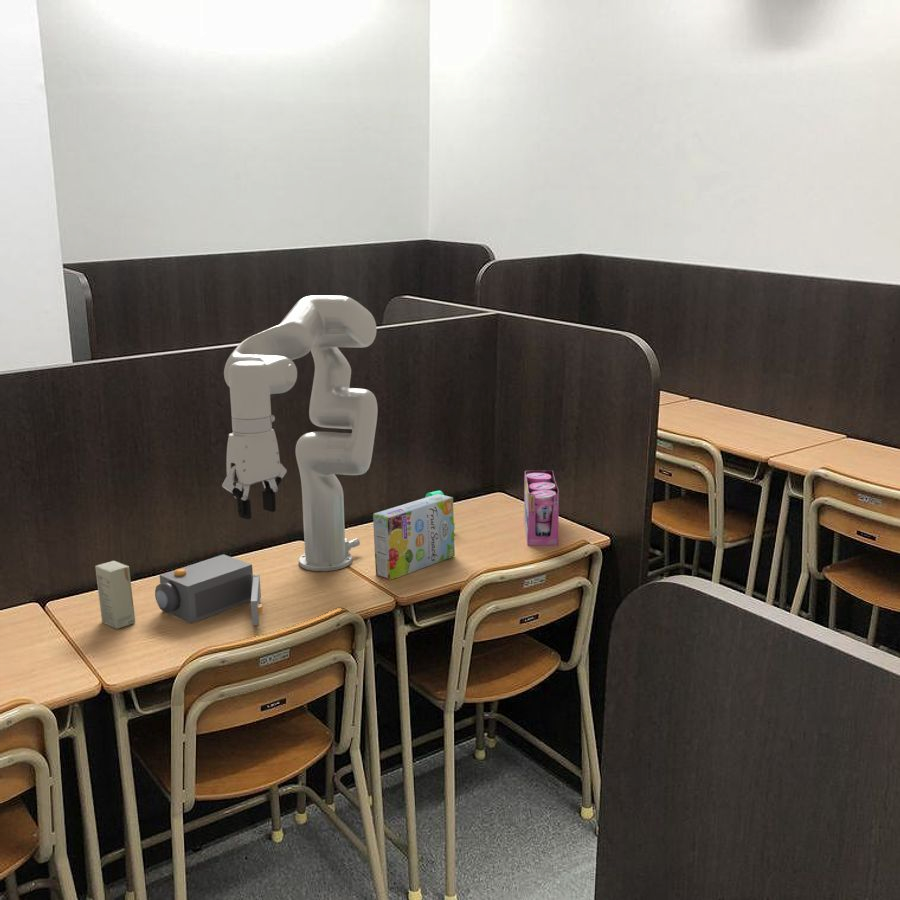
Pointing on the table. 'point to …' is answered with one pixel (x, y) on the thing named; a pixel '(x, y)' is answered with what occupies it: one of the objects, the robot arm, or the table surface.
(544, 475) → the gum box
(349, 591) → the table surface
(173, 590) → the camera body
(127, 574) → the skincare box
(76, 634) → the table surface
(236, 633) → the table surface
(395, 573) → the snack box
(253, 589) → the side door
